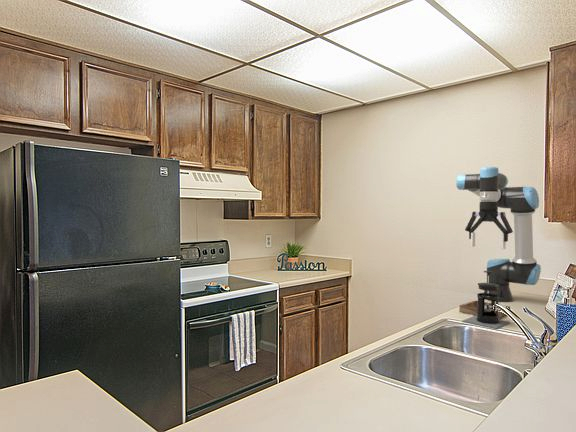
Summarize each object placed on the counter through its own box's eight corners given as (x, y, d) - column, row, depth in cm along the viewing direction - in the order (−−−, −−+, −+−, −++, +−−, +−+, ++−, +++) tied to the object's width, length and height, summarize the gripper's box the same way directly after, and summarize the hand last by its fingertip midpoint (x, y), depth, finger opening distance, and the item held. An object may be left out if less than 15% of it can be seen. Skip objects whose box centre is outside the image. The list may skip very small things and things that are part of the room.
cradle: (475, 306, 218) (475, 300, 218) (510, 313, 205) (510, 306, 205) (459, 312, 207) (459, 305, 207) (495, 319, 194) (495, 312, 194)
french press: (484, 317, 196) (485, 268, 195) (504, 321, 188) (505, 271, 187) (470, 320, 189) (470, 270, 189) (489, 325, 181) (490, 273, 181)
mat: (477, 316, 199) (477, 315, 199) (510, 323, 188) (510, 321, 188) (462, 321, 189) (462, 320, 189) (496, 329, 178) (496, 327, 178)
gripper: (458, 201, 194) (457, 246, 195) (514, 201, 176) (513, 250, 176) (465, 201, 199) (464, 245, 200) (521, 201, 180) (520, 249, 181)
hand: (487, 247), depth 188 cm, fingers open, 13 cm apart
